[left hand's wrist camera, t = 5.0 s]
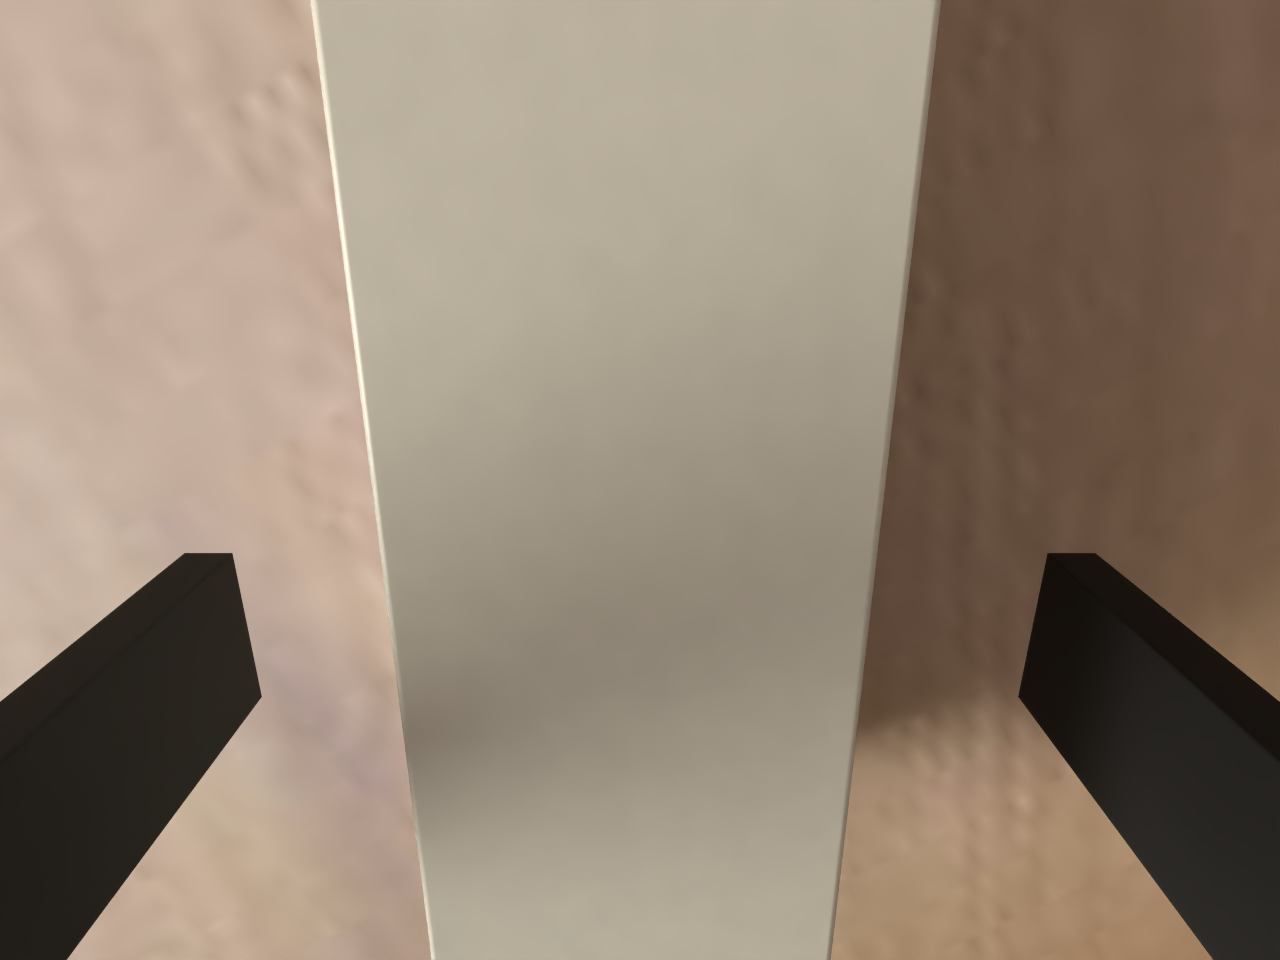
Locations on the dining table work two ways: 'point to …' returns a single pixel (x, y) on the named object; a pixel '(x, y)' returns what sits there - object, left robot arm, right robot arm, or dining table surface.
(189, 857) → the dining table surface
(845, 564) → the post
